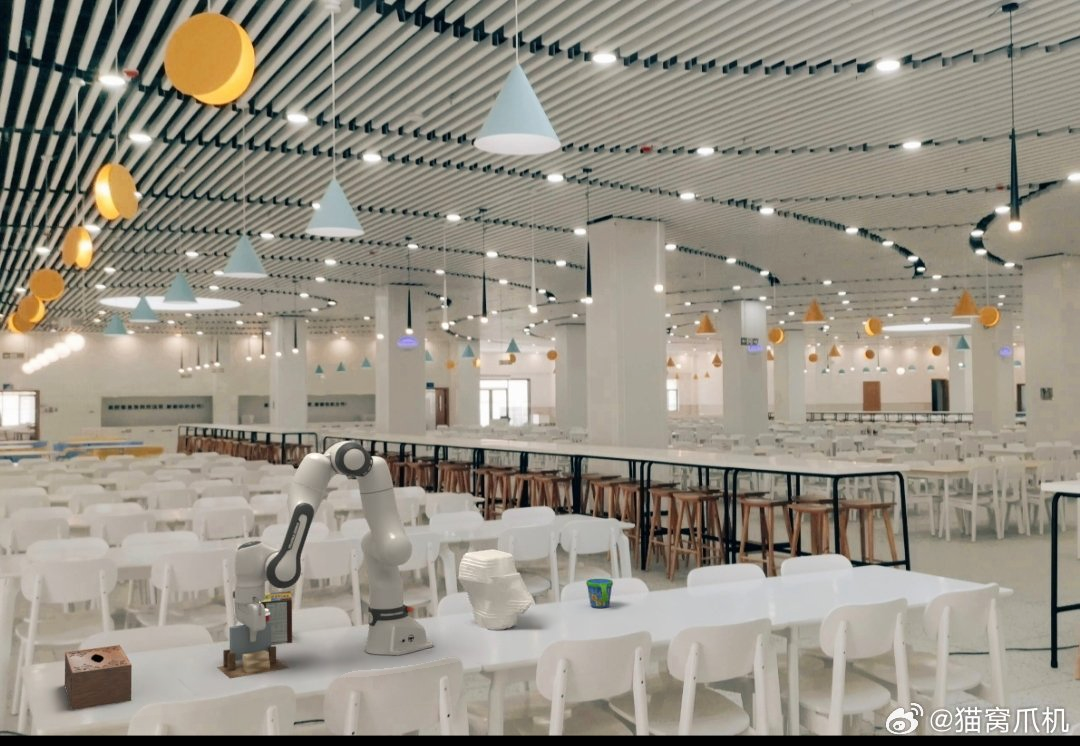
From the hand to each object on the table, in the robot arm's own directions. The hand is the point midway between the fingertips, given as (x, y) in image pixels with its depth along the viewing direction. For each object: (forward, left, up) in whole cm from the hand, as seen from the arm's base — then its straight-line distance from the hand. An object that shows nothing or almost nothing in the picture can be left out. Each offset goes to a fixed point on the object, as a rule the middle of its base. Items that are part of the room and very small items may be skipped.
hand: (250, 640), depth 278 cm
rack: (0, +3, -8) cm, 9 cm away
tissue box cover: (+43, 0, -9) cm, 44 cm away
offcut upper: (+1, +7, -5) cm, 9 cm away
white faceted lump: (-88, -1, -9) cm, 88 cm away
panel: (0, 0, -5) cm, 5 cm away
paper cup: (-7, -15, -9) cm, 19 cm away
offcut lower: (0, +7, -8) cm, 10 cm away
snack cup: (-139, -3, -9) cm, 139 cm away
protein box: (-17, -28, -9) cm, 34 cm away
